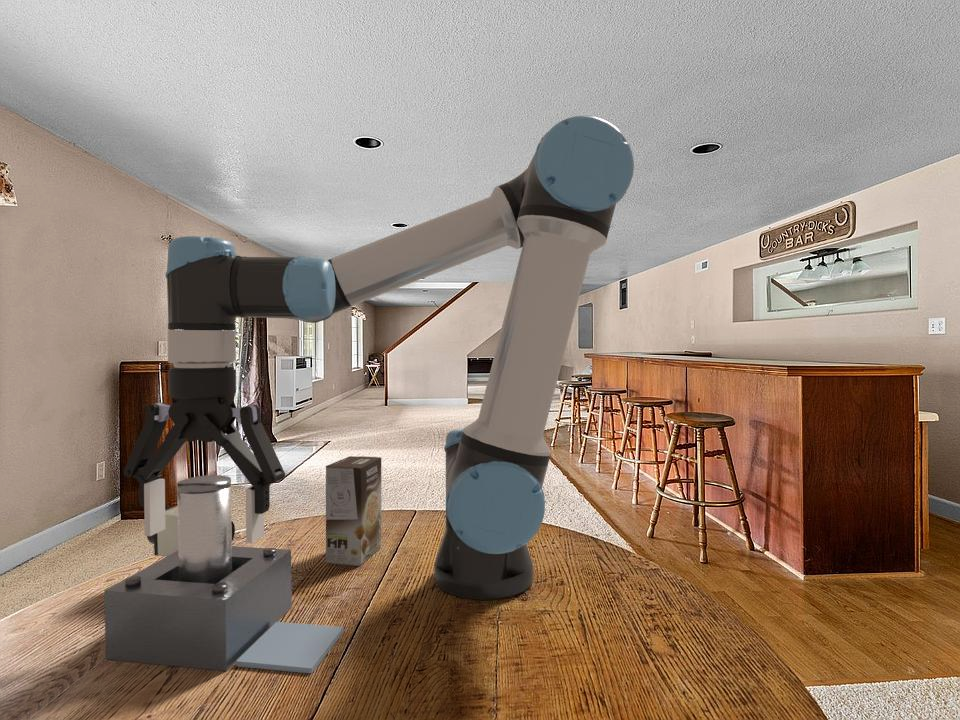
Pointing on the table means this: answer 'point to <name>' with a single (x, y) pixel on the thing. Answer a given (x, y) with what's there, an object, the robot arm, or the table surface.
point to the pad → (291, 647)
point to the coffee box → (353, 510)
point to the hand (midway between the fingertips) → (204, 535)
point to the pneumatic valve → (170, 534)
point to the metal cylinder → (204, 529)
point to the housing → (197, 611)
